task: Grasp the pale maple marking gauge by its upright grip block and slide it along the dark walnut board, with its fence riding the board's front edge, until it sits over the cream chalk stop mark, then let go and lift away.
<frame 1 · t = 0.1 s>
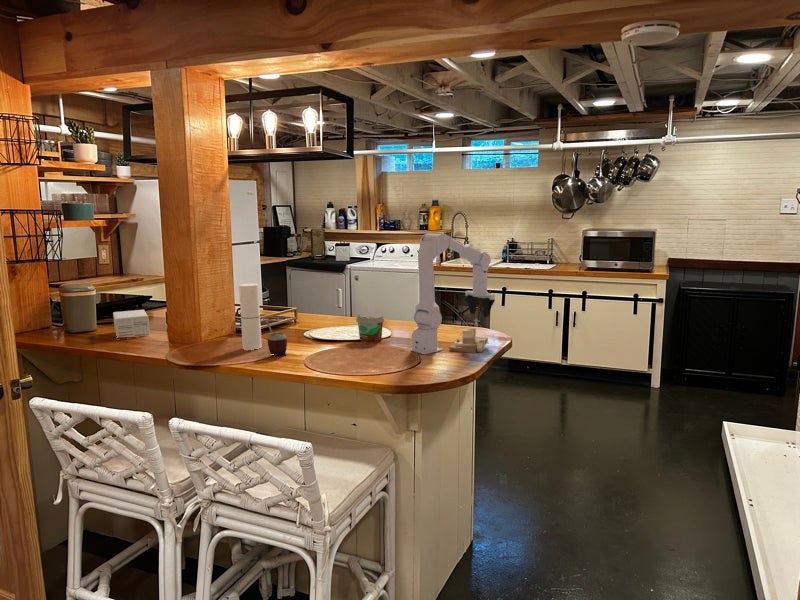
hand: (479, 315, 235), 10 cm above the table, tool pointing down, fingers open, 7 cm apart
walnut board: (469, 345, 226), on the table
mate gourd: (276, 356, 215), on the table
supplement box: (132, 334, 255), on the table
food container: (367, 341, 236), on the table
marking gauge: (465, 345, 221), point 2 cm above the table, touching walnut board
cylindrical container: (252, 348, 227), on the table
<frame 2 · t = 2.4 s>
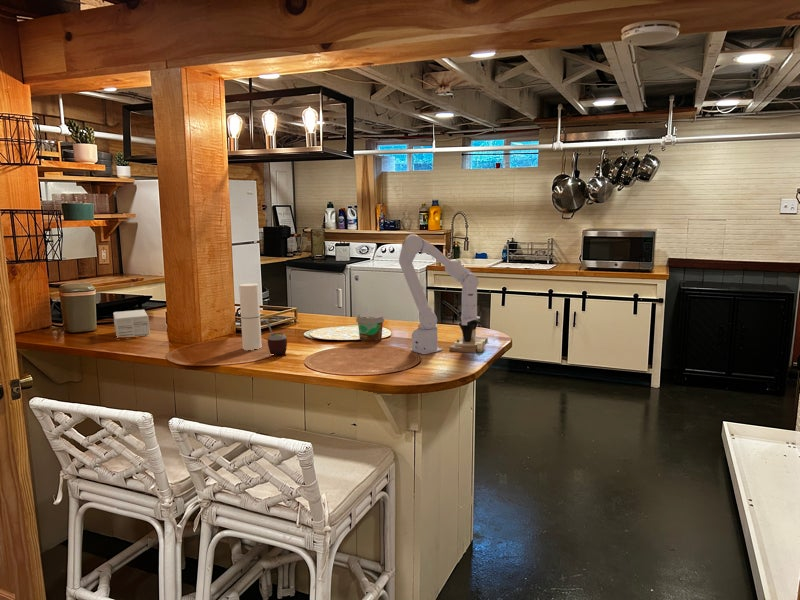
hand: (469, 340, 220), 4 cm above the table, tool pointing down, fingers closed on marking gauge, 4 cm apart
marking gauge: (465, 345, 221), point 2 cm above the table, touching gripper, walnut board
everything else where it was.
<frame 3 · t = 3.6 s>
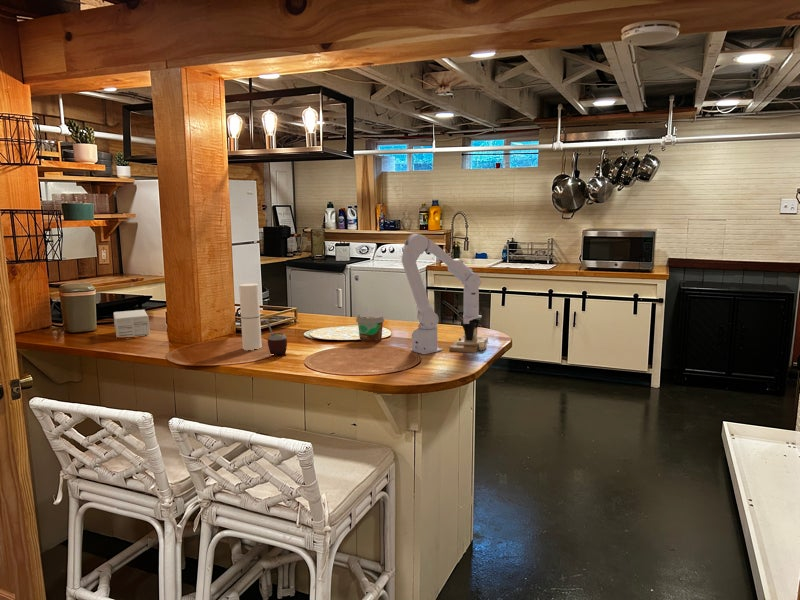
hand: (470, 338, 222), 4 cm above the table, tool pointing down, fingers closed on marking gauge, 4 cm apart
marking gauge: (467, 343, 223), point 2 cm above the table, touching gripper
everything else where it was.
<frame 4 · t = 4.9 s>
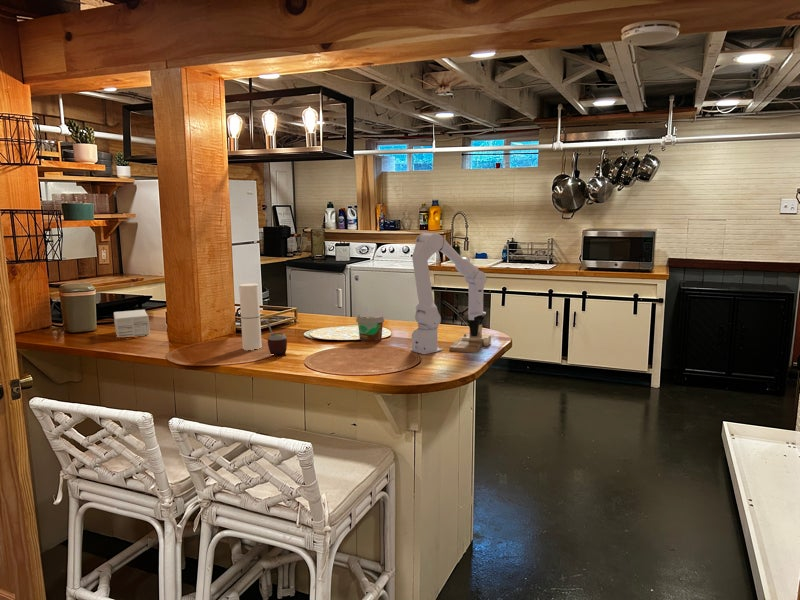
hand: (475, 334, 229), 4 cm above the table, tool pointing down, fingers closed on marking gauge, 4 cm apart
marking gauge: (471, 339, 230), point 2 cm above the table, touching gripper
everything else where it was.
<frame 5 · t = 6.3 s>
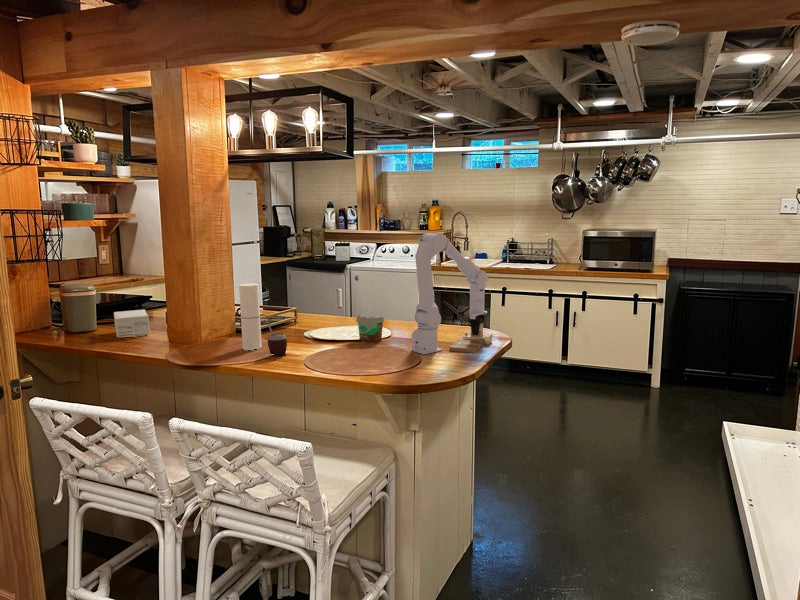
hand: (476, 333, 231), 4 cm above the table, tool pointing down, fingers closed on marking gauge, 4 cm apart
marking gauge: (473, 338, 231), point 2 cm above the table, touching gripper, walnut board
everything else where it was.
when the fingers open (4 cm above the table, at t = 6.8 s): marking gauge stays where it is, resting on walnut board.
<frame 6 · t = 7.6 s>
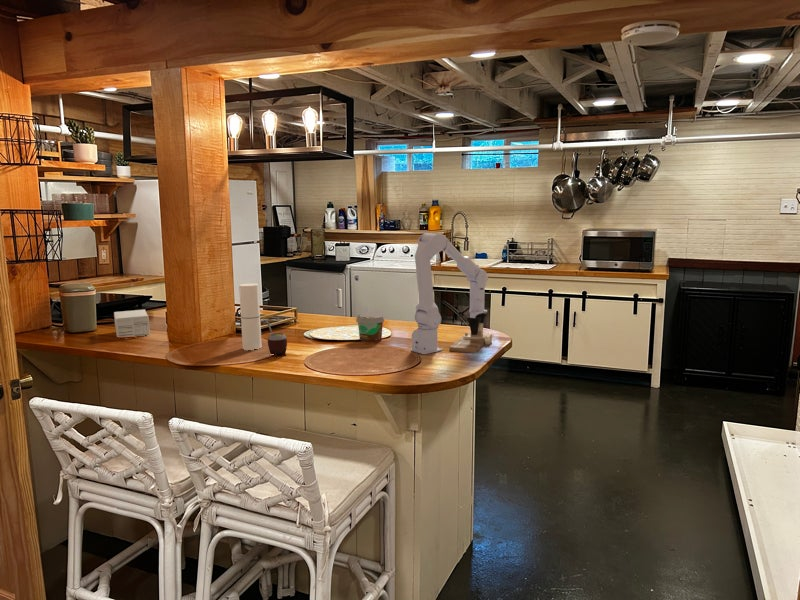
hand: (476, 332, 231), 4 cm above the table, tool pointing down, fingers open, 7 cm apart
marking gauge: (473, 338, 232), point 2 cm above the table, touching walnut board
everything else where it was.
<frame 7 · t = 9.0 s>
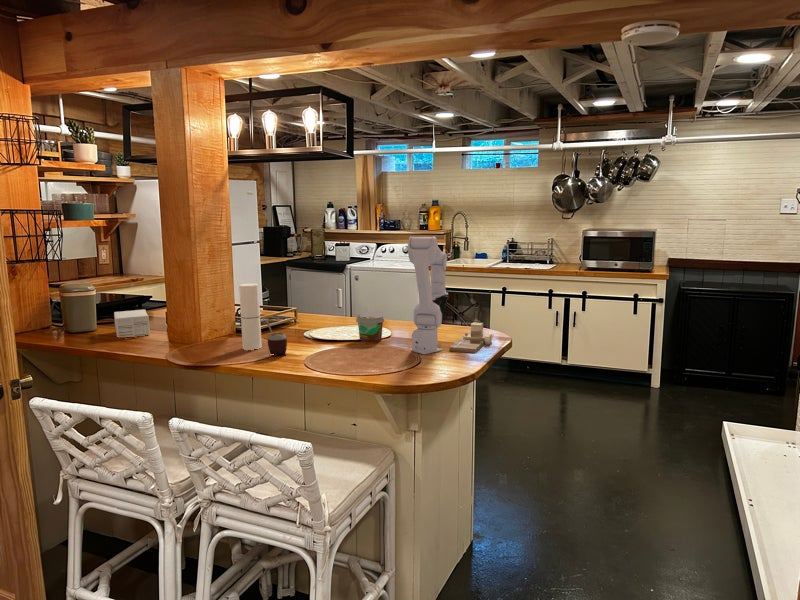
hand: (438, 315, 234), 10 cm above the table, tool pointing down, fingers open, 7 cm apart
nothing on the table moved.
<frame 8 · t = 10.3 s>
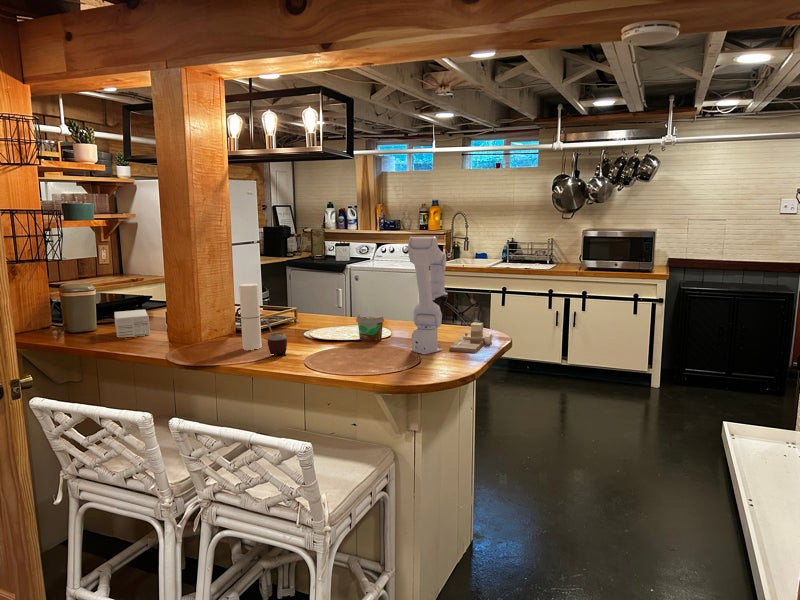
hand: (437, 315, 234), 10 cm above the table, tool pointing down, fingers open, 7 cm apart
nothing on the table moved.
at the end: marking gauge 0.3 cm from the target spot on the walnut board, point 1.5 cm above the walnut board's base; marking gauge tilted 0°; the gripper is holding nothing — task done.
